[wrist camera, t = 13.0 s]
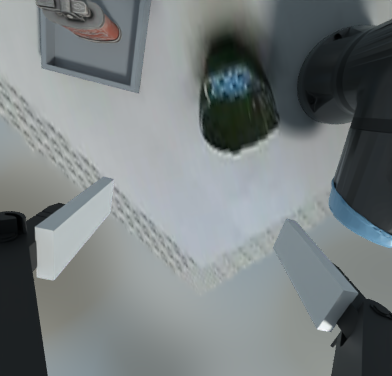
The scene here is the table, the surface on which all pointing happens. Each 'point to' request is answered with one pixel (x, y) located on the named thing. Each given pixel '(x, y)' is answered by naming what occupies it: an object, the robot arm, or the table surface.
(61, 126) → the table surface
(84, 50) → the tray
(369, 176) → the robot arm
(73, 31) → the lighter
